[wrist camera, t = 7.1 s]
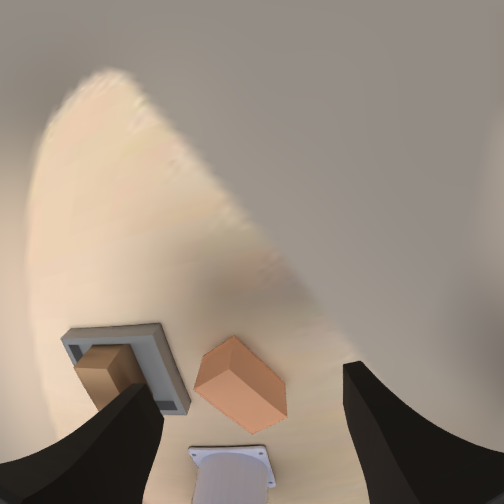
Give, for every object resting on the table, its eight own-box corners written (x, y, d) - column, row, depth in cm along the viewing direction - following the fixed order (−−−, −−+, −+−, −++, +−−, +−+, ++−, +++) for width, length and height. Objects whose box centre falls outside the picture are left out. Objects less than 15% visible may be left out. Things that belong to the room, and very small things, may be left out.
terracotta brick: (284, 381, 22) (287, 417, 18) (254, 399, 23) (252, 434, 19) (234, 334, 21) (228, 368, 17) (203, 355, 22) (193, 389, 18)
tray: (190, 401, 23) (186, 415, 21) (106, 398, 24) (99, 409, 22) (160, 322, 21) (152, 334, 19) (70, 328, 22) (60, 338, 20)
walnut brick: (153, 395, 22) (139, 427, 19) (123, 394, 23) (107, 423, 19) (127, 338, 21) (106, 369, 17) (96, 339, 21) (73, 367, 17)
